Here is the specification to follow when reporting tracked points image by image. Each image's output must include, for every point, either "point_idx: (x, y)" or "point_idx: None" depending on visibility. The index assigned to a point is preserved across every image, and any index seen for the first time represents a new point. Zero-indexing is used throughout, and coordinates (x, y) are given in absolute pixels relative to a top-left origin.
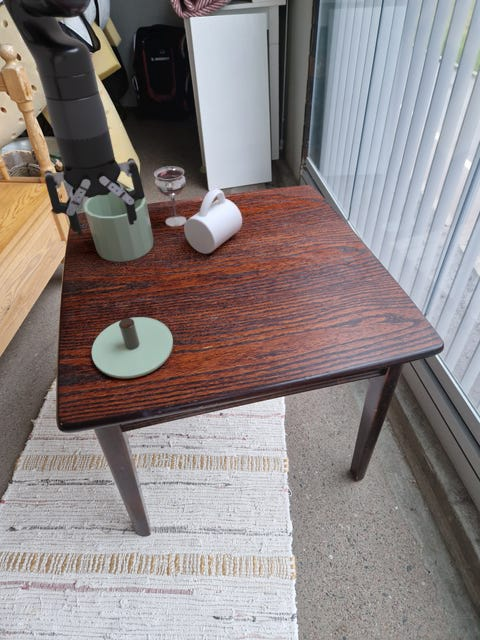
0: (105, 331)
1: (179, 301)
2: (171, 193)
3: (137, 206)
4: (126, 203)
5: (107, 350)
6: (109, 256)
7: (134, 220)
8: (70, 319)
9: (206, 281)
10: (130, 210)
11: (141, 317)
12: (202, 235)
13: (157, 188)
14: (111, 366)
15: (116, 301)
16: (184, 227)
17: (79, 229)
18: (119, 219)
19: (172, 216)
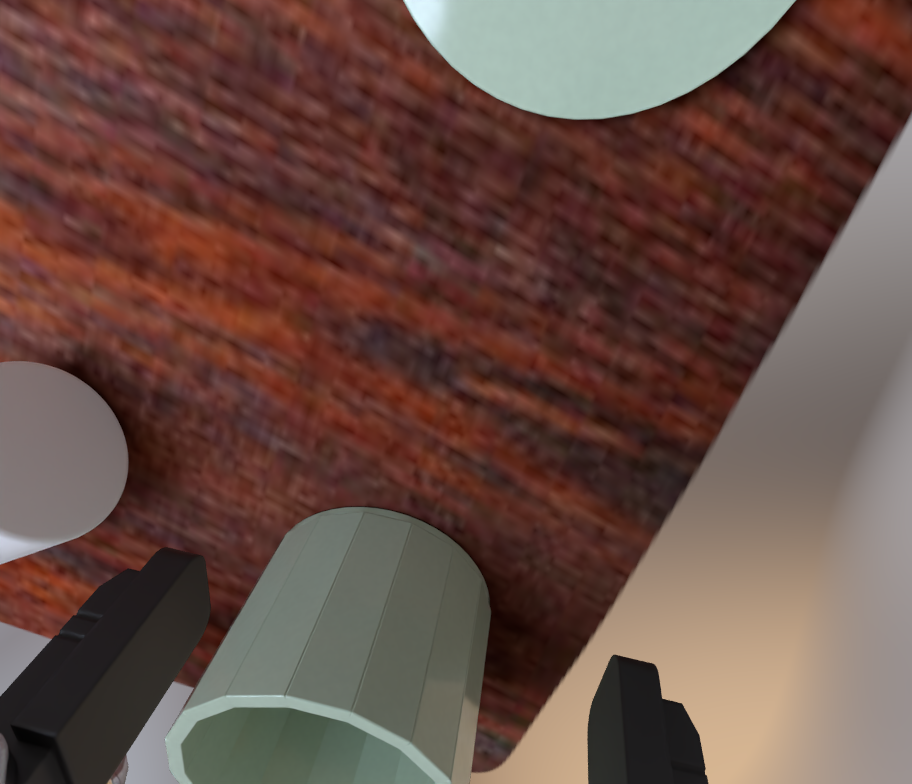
0: (688, 72)
1: (263, 136)
2: None
3: (246, 726)
4: (50, 768)
5: None
6: (457, 563)
7: (140, 574)
8: (771, 303)
9: (112, 208)
10: (66, 669)
11: (473, 80)
12: (15, 437)
13: (120, 770)
14: None
15: (533, 305)
16: (89, 526)
17: (637, 705)
18: (325, 690)
19: None
